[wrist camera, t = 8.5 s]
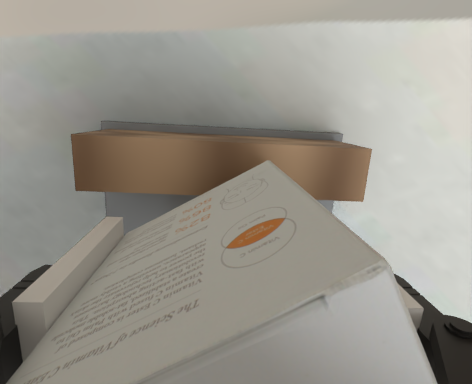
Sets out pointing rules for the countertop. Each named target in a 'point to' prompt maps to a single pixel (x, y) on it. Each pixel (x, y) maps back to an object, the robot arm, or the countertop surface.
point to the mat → (154, 205)
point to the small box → (236, 300)
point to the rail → (212, 162)
